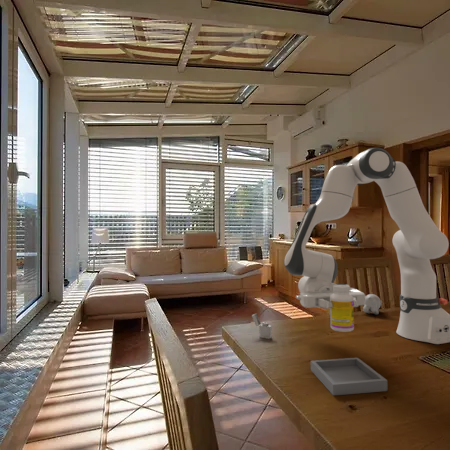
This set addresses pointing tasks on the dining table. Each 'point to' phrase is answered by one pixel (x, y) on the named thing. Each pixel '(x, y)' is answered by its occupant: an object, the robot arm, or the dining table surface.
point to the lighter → (262, 327)
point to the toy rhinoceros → (372, 304)
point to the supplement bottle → (342, 309)
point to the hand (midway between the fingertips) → (343, 304)
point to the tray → (348, 376)
